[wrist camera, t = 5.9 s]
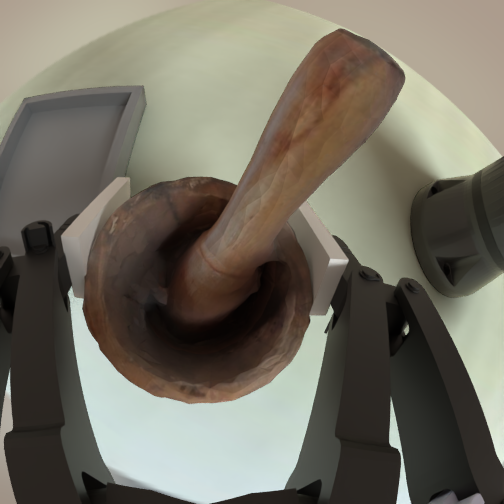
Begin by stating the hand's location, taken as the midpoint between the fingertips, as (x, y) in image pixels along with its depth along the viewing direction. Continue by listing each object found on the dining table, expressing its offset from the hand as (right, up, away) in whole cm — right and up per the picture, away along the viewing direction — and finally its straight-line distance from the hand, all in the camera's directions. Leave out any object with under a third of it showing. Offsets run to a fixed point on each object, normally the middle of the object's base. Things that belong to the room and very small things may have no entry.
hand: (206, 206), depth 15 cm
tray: (-17, +5, +7) cm, 19 cm away
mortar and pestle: (-2, -5, +8) cm, 9 cm away
